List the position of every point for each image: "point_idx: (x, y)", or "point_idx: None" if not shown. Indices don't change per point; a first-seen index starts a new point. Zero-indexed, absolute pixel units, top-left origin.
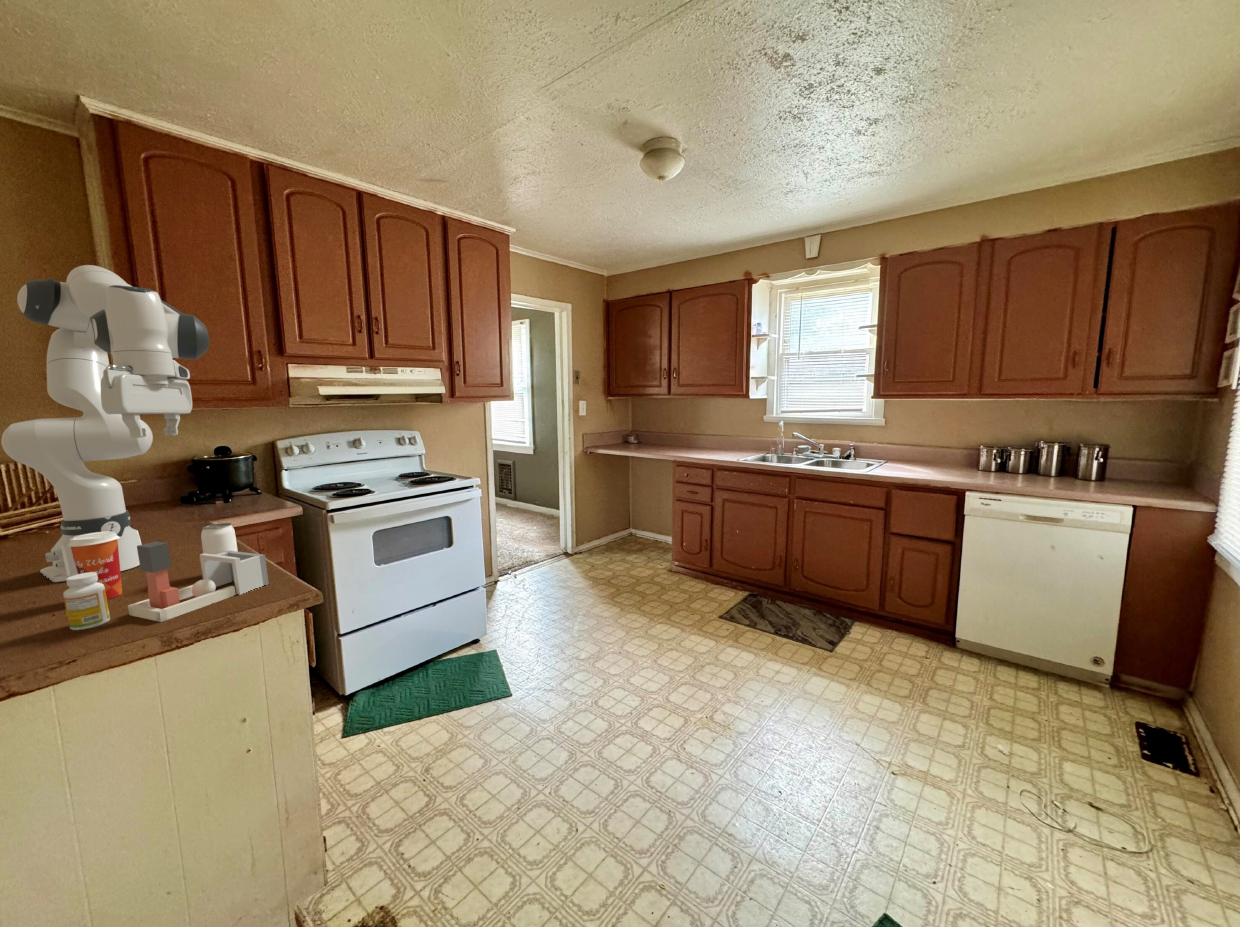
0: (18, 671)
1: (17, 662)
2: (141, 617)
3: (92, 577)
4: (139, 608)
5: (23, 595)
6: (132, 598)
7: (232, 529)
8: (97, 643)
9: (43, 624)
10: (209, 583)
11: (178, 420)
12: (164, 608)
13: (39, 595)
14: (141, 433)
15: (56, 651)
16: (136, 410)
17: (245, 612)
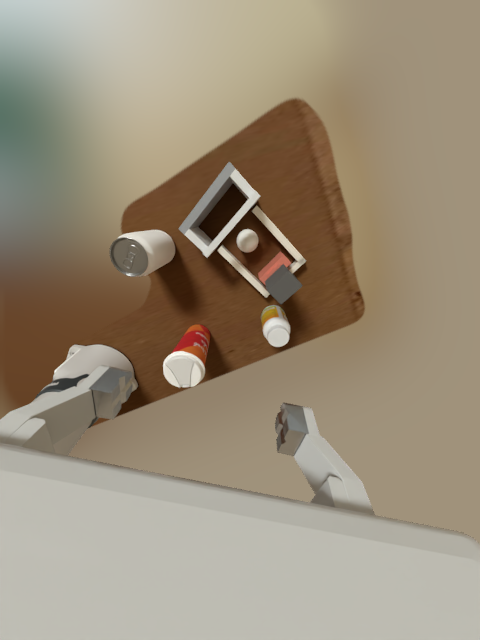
0: (353, 320)
1: (332, 328)
2: None
3: (283, 328)
4: None
5: (166, 391)
6: (213, 310)
7: (131, 234)
8: (327, 291)
9: (252, 348)
10: (252, 233)
11: (36, 408)
12: (297, 260)
13: None
14: (309, 415)
15: (326, 313)
16: (413, 537)
17: (328, 174)
